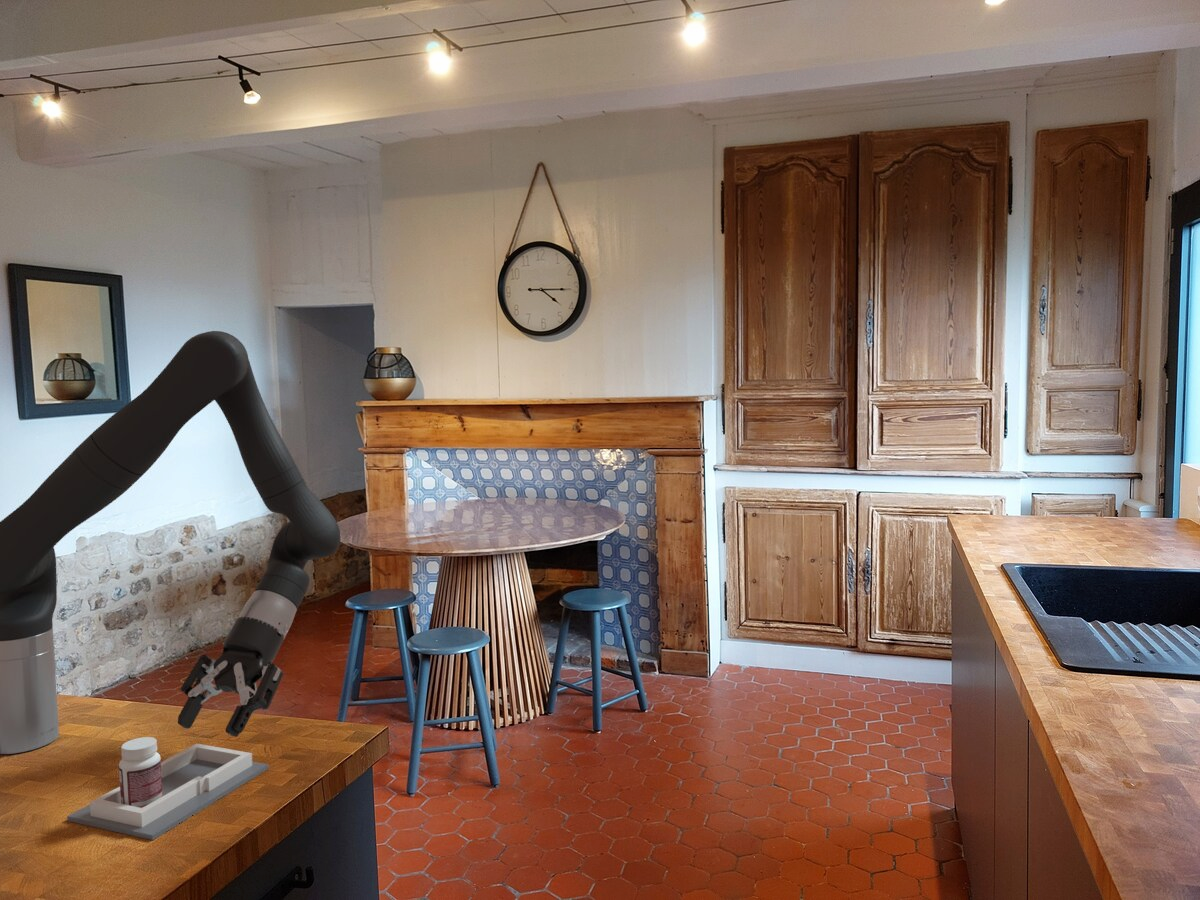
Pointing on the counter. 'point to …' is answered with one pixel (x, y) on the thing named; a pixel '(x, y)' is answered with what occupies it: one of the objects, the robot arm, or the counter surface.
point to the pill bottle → (140, 772)
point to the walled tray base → (174, 792)
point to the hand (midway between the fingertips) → (206, 730)
